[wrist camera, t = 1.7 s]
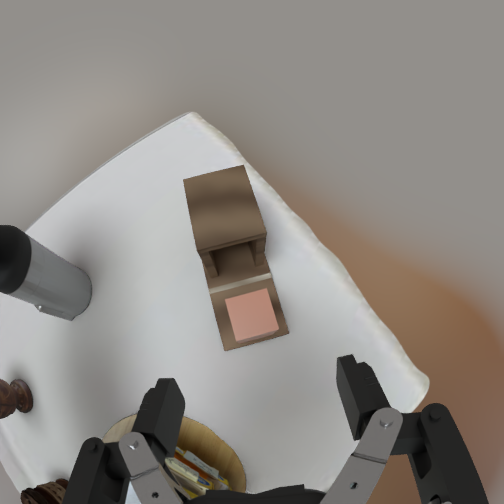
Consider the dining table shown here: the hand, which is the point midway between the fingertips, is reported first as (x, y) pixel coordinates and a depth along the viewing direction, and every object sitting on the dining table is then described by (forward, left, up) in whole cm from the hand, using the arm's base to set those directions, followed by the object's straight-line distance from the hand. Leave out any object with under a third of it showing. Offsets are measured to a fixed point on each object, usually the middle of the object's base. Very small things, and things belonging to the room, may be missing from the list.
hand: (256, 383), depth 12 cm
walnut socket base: (+10, +8, -29) cm, 32 cm away
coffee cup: (-48, +16, -29) cm, 59 cm away
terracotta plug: (+5, +3, -28) cm, 28 cm away
